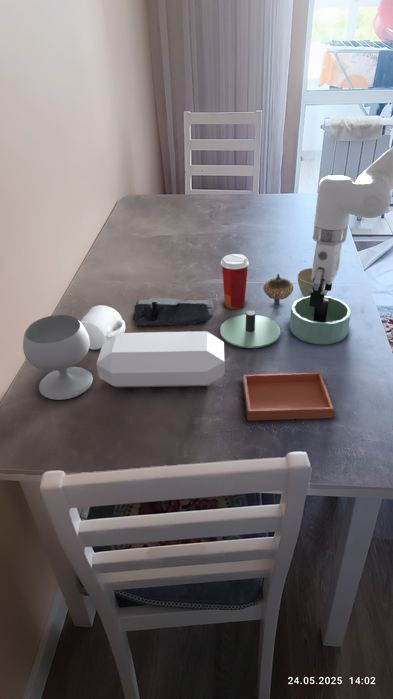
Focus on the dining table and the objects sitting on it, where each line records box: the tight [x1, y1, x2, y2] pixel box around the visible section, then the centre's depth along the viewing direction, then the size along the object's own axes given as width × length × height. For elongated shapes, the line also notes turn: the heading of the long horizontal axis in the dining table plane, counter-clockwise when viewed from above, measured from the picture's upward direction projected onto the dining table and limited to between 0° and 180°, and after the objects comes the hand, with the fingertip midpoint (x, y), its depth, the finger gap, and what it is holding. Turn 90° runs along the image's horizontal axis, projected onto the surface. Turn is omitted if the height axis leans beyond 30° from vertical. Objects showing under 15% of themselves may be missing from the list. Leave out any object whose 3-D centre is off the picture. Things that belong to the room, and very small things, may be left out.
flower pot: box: [296, 267, 329, 297], centre depth 138 cm, size 10×10×7 cm
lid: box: [219, 310, 282, 349], centre depth 124 cm, size 16×16×6 cm
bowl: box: [289, 295, 352, 345], centre depth 124 cm, size 15×15×6 cm
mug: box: [80, 304, 126, 350], centre depth 123 cm, size 12×9×8 cm
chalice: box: [22, 314, 94, 401], centre depth 107 cm, size 14×14×15 cm
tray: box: [242, 372, 335, 421], centre depth 103 cm, size 17×12×2 cm
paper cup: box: [220, 253, 250, 310], centre depth 135 cm, size 8×8×14 cm
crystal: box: [96, 330, 226, 388], centre depth 109 cm, size 14×10×28 cm
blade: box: [307, 298, 337, 322], centre depth 124 cm, size 10×10×8 cm
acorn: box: [262, 273, 294, 307], centre depth 134 cm, size 8×8×10 cm
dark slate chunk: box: [134, 297, 215, 327], centre depth 134 cm, size 15×22×5 cm
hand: (320, 297), depth 121 cm, fingers open, 9 cm apart
